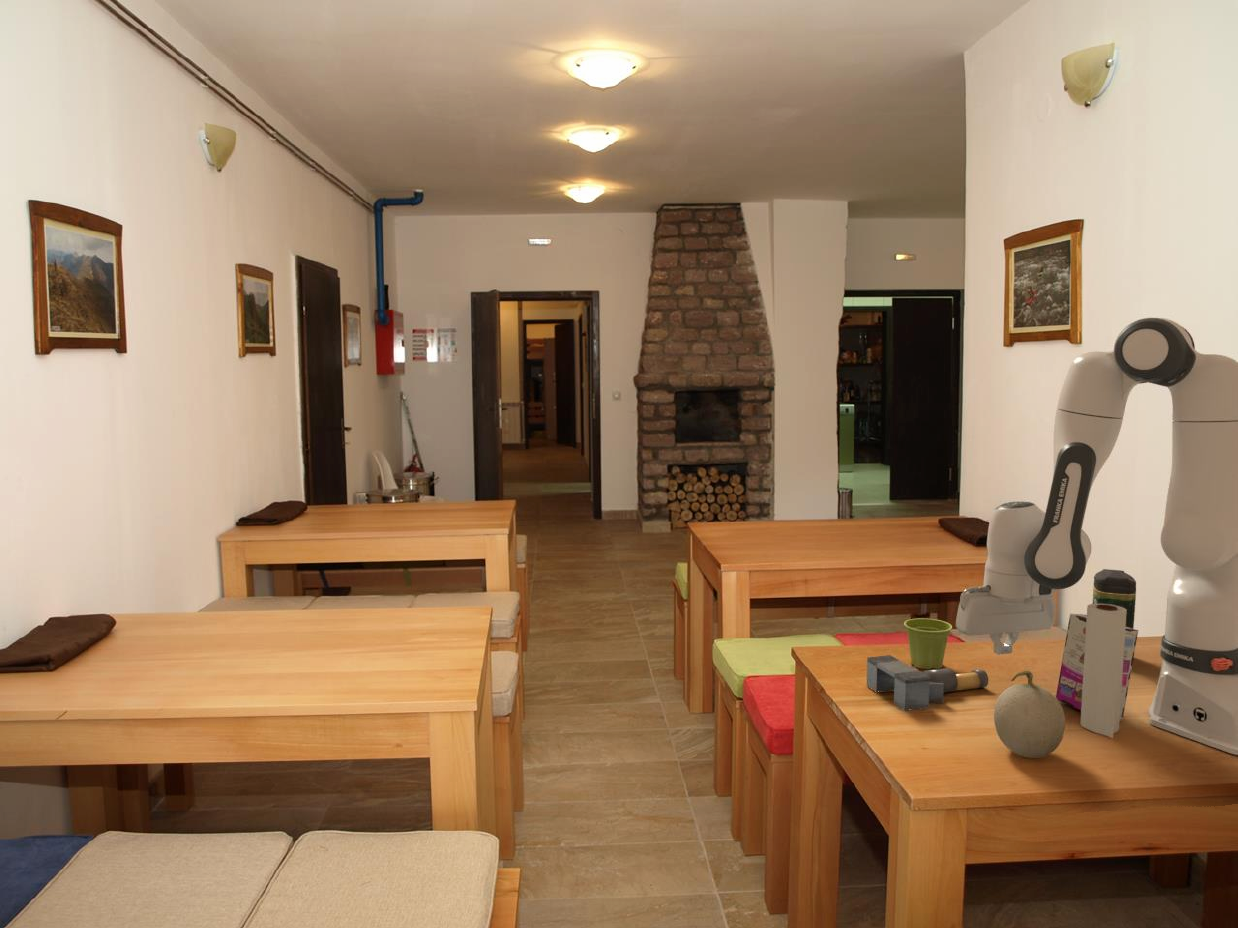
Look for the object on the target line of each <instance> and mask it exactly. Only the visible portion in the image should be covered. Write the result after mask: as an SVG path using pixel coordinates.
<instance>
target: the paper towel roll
mask: <svg viewBox="0 0 1238 928" xmlns="http://www.w3.org/2000/svg"><path fill="white" fill-rule="evenodd" d="M1126 612H1127V610H1126V609H1125V608H1123V607H1120V606H1116V605H1110V604H1092V603H1090V604H1087V608H1086V615H1087V620H1086V637H1085V654H1084V671H1083V688H1082V705H1081V710H1080V725H1081V726H1082V727H1083V728H1085V729H1086V730H1089V731H1091V732H1092V733H1095V734H1099V735H1103V736H1106V737H1108V738H1111V739H1114V733H1117V732H1119V731H1120V721H1121V720H1120V705H1121V689H1122V674H1123V658H1124V643H1125V627H1126Z"/></svg>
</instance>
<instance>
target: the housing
mask: <svg viewBox="0 0 1238 928" xmlns="http://www.w3.org/2000/svg"><path fill="white" fill-rule="evenodd" d="M866 685H867V686H869V687H870V688H872V689H873V690H874V691H876V692H878V691H879V692H878V693H883V692H882V691H886V692H893V705H895V706H896V705H897V706H896V707H898V708H900V709H901V708H902V709H901V710H903V709H904V710H906V711H910V710H909V709H914V710H919V709H920V708H922V709H929V707H930V706H929V705H930V704H929V703H933V704H944V693H943V689H944V684H943V683H935V682H930V677H929V676H927V675H925V674H924V673H923V671H919V670H918V669H916V668H915V666H913V665H909V664H907V663H905V662H903V661H902V660H900V659H898V658H896V657H894V656H893V655H891V654H888V655H878V656H877V655H876V656H869V657H868V656H867V661H866ZM867 686H866V687H867ZM870 688H869V689H870ZM873 690H872V691H873ZM892 690H894V691H892ZM874 691H873V692H874ZM880 691H881V692H880ZM876 692H875V693H876ZM904 710H903V711H904Z"/></svg>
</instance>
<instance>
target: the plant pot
mask: <svg viewBox="0 0 1238 928" xmlns="http://www.w3.org/2000/svg"><path fill="white" fill-rule="evenodd" d="M903 625H904V627H905V629H906V631H905V632H906V634H907V638H908V646H909V655H910V663H911V665H912V666H913V667H914V668H918V669H922V670H932V669H934V670H935V669H942V667H943V662H944V658H945V657H944V656H945V652H946V647H947V643H948V637H949V636H950V632H951V631H952V630H953V626H952V624H950V622H947V621H944V620H941V619H934V618H927V617H926V618H923V617H921V618H920V617H919V618H912V619H911V618H910V619H907V620H905V621H904V622H903Z"/></svg>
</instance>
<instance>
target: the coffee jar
mask: <svg viewBox="0 0 1238 928" xmlns="http://www.w3.org/2000/svg"><path fill="white" fill-rule="evenodd" d="M1136 597H1137V582H1136V580H1135V578H1134V577H1133V576H1131V574H1129V573H1127V572H1125V571H1124V570H1118V569H1109V568H1108V569H1107V568H1105V569H1104V568H1103V569H1102V570H1100V571H1098V572H1096V573H1095V574H1094V576H1093V589H1092V603H1091V604H1110V605H1116V606H1120V607H1123V608H1125V609H1126V610H1127V612H1126V627H1129V628H1132V629H1135V627H1134V625H1135V613H1136V612H1135V611H1136Z"/></svg>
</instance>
